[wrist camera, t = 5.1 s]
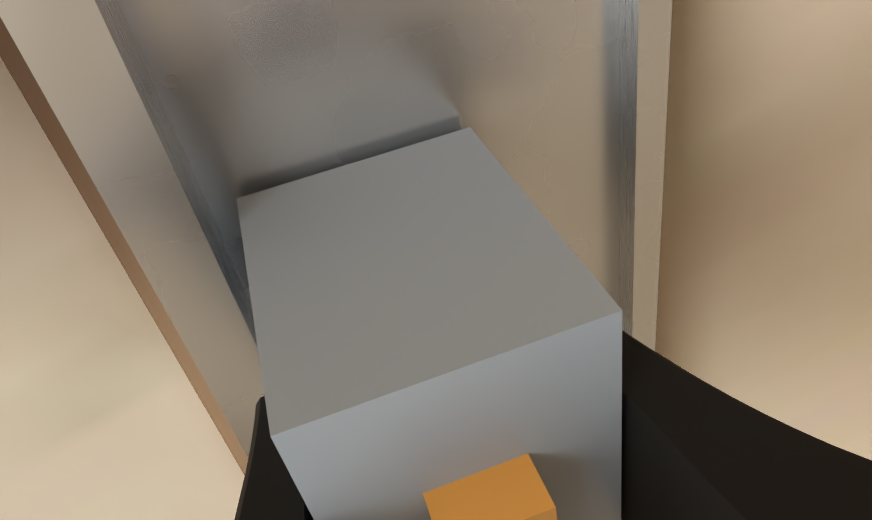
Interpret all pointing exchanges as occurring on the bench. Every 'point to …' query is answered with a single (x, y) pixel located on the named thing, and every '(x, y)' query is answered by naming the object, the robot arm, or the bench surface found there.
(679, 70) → the bench surface
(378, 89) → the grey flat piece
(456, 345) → the block
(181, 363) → the board
